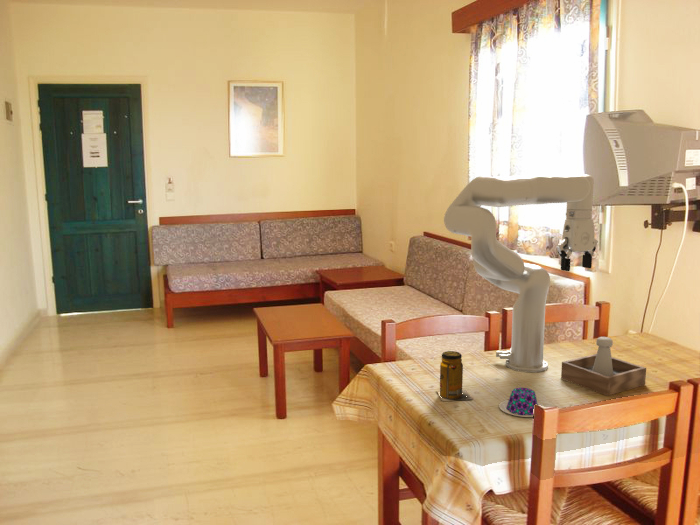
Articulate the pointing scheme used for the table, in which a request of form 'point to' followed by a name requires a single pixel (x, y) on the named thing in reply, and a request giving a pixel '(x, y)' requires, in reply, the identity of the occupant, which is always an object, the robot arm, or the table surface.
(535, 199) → the robot arm
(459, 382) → the condiment
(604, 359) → the salt shaker
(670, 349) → the table surface
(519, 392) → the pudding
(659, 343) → the table surface
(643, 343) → the table surface
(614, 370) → the bore box
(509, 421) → the table surface
